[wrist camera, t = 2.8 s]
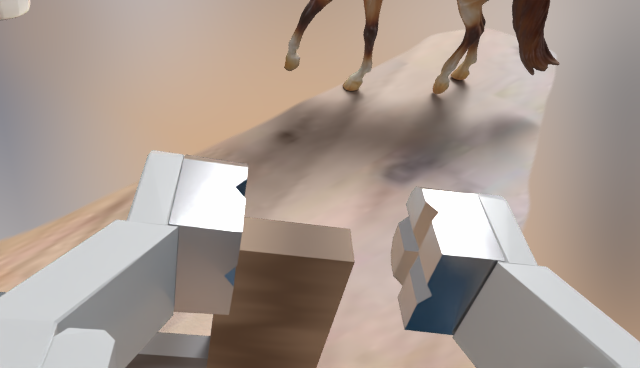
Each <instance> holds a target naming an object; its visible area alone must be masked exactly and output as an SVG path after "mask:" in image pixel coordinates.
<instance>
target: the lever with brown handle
mask: <svg viewBox="0 0 640 368" xmlns="http://www.w3.org/2000/svg"><path fill="white" fill-rule="evenodd" d="M353 265H354V254H353V246H352V239H351V231H350V229H346V228H337V227H328V226H320V225H311V224H302V223H294V222H285V221H276V220H268V219H259V218H251V217H244V219H243V229H242V237H241V244H240V251H239V257H238V264H237V266H236V269H235V279H234V288H233V294H232V300H231V305H230V311H229V315H222V314H213V321H212V328H211V336H200V335H187V334H174V333H161V332H157V333H156V334H155V335H154V337H153V338H152V339H151V340H150V341H149V342H148V343H147V344H146V345H145V346H144V348H143V349H142V350H141V351H140V352H139V353H138V354H137V355H136V356H135V357H134V359H133V360H132V361H131V362H130V363H129V364H128V365H127V366H126V367H125V368H316V367H317V364H318V362H319V359H320V356H321V353H322V350H323V348H324V345H325V342H326V339H327V337H328V334H329V331H330V328H331V326H332V323H333V320H334V317H335V315H336V312H337V309H338V306H339V304H340V301H341V298H342V295H343V293H344V290H345V287H346V284H347V281H348V279H349V276H350V273H351V270H352V268H353Z"/></svg>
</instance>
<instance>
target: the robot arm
mask: <svg viewBox="0 0 640 368" xmlns="http://www.w3.org/2000/svg"><path fill="white" fill-rule="evenodd" d="M247 173H248V164H243V163H237V162H230V161H224V160H217V159H211V158H204V157H198V156H191V155H185V156H184V155H183V154H176V153H168V152H162V151H155V150H152V151H151V153H149V155H148V157H147V160H146V163H145V166H144V169H143V172H142V175H141V178H140V181H139V184H138V187H137V190H136V194H135V197H134V200H133V203H132V206H131V209H130V212H129V215H128V218H127V221H125V220H115V221H114V222H112V223H111V224H109V225H108V226H106V227H105V228H103V229H102V230H100V231H99V232H97V233H96V234H94V235H93V236H91V237H90V238H88V239H87V240H85V241H84V242H82V243H81V244H79V245H78V246H76V247H75V248H73V249H72V250H70V251H68V252H67V253H65V254H64V255H62V256H61V257H59V258H58V259H56V260H55V261H53V262H52V263H50V264H49V265H47V266H46V267H44V268H43V269H41V270H40V271H38V272H37V273H35V274H34V275H32V276H31V277H29V278H28V279H26V280H25V281H23V282H22V283H20V284H19V285H17V286H16V287H14V288H13V289H11V290H10V291H8V292H7V293H5V294H4V295H2V296H1V297H0V368H125V367H126V366H127V365H128V364H129V363H130V362H131V361H132V360H133V359H134V357H135V356H136V355H137V354H138V353H139V352H140V351H141V350H142V349H143V348H144V346H145V345H146V344H147V343H148V342H149V341H150V340H151V339H152V338H153V337H154V335H155V334H156V333H157V332H158V331H159V330H160V329H161V328H162V327H163V326H164V325H165V323H166V322H167V321H168V320H169V319H170V318H171V317H172V316H173V312H187V313H205V314H222V315H229V311H230V305H231V300H232V294H233V288H234V279H235V269H236V266H237V264H238V257H239V251H240V244H241V237H242V229H243V219H244V209H245V198H244V196H245V190H246V183H247ZM406 206H407V210H408V214H409V217H407V218H406V219H404V220H403V221H401V222H400V223H398V226H397V229H396V231H395V234H394V237H393V242H392V249H391V265H392V271H393V276H394V277H395V278H396V279H397V280H398V281H399V282H400V283H401V284H402V288H401V291H400V293H399V295H398V301H399V306H400V310H401V315H402V320H403V325H404V329H405V330H411V331H420V332H429V333H438V334H447V335H454V336H453V337H452V338H453V339H454V340H455V341H456V343H457V344H458V345H459V346H460V348H461V349H462V350H463V351H464V353H465V354H466V355H467V357H468V358H469V359H470V360H471V362H472V363H473V364H474V365H475V367H476V368H640V342H639V341H638V340H636V339H635V338H634V337H633V336H632V335H630V334H629V333H628V332H626V331H625V330H624V329H623V328H622V327H621V326H619V325H618V324H617V323H615V322H614V321H613V320H612V319H611V318H609V317H608V316H607V315H606V314H604V313H603V312H602V311H601V310H599V309H598V308H597V307H596V306H594V305H593V304H592V303H591V302H589V301H588V300H587V299H586V298H584V297H583V296H582V295H581V294H580V293H578V292H577V291H576V290H575V289H573V288H572V287H571V286H570V285H568V284H567V283H566V282H565V281H563V280H562V279H561V278H560V277H558V276H557V275H556V274H555V273H554V272H552V271H551V270H550V269H549V268H547V267H544V266H538V265H537V263H536V261H535V259H534V257H533V255H532V253H531V250H530V248H529V246H528V244H527V242H526V241H525V238H524V236H523V234H522V232H521V230H520V228H519V226H518V224H517V221H516V219H515V217H514V215H513V213H512V211H511V209H510V207H509V205H508V203H507V201H506V200H505V199H504V198H503V197H501V196H498V195H489V194H479V193H472V194H470V193H462V192H454V191H446V190H439V189H431V188H423V187H415V189H414V190H413V191H412V192H411V194H410V196H409V199H408V201H407V204H406Z"/></svg>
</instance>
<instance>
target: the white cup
mask: <svg viewBox="0 0 640 368" xmlns="http://www.w3.org/2000/svg"><path fill="white" fill-rule="evenodd" d="M29 7H30V0H0V20H6V19H11V18H16V17H19V16H21V15H23V14H25V13H26V12H28V11H29Z"/></svg>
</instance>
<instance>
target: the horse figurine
mask: <svg viewBox="0 0 640 368" xmlns="http://www.w3.org/2000/svg"><path fill="white" fill-rule="evenodd" d="M331 1H332V0H310V2H309V3H308V4H307V6H306V7H305V9H304V11H303V12H302V14H301V17H300V20H299V23H298V26H297V28H296V30H295V32H294V34H293V36H292V38H291V40H290V42H289V51H288V53H287V56H286V62H285V67H284V68H285V69H286V70H288V71H292V70H294V69H296V68H297V67H298V66H299V60H300V57H299V55H298V54H297V53H296V50H297V49H298V48H299V44H300V41H301V38H302V35H303V33H304V31H305V29H306V28H307V26H308V24H309V23H310V22H311V21H312V19H313V18H314V17H315V15H316V14H317V13H318V12H319V11H321V10H322V9H323V8H324V7H325V6H326V5H327V4H328V3H330V2H331ZM487 1H489V0H457V4H458V9H459V13H460V16H461V18H462V20H463V22H464V25H465V27H466V32H465V36H464V39H463V42H462V43H461V45H460V46H459V47H458V49H457V50H456V51H455V52H454V53H453V55H452V56H451V57H450V58H449V59H448V60H447V61H446V63H445V64H444V66H443V68H442V71H441V74H440V75H439V76H438V77H437V78H436V80H435V83H434V86H433V93H434V94H441V93H443V92H444V91H445V90H446V89H447V88H448V87H449V82H450V81H449V79H448V76H449V74H450V73H451V72H452V71H453V70H454V69H455V68H456V66H457V64H458V63H459V61H460V59H461V58H462V56H463V55H464V54H465V52H466V51H467V50H468V52H467V55H466V58H465V60H464V62H463V63H462V64H461V65H460V66H459V67H458V68H457V69H456V70H455V71H454V72H453V73H452V74H451V77H453V78H454V79H457V80H464V79H466V78H467V76H468V75H469V70H468V69H469V66H470V65H471V64H473V63H476V60H477V47H478V43H479V39H480V36H481V34H482V33H483V32H484V26H485V19H484V17H483V14H482V5H483V4H484V3H485V2H487ZM381 4H382V0H364V7H365V15H366V25H365V29H364V41H365V52H364V58H363V63H362V66H361V68H360V69H359V70H358V71H357V72H355V73H354V74H352V75H351V76H350V77H349V78H348V80H346V82H345V83H344V84H343V87H344V89H346V90H349V91H354V90H358V89H359V87H360V86H361V84H362V83H363V82H362V78H363V76H364V75H365V74H366V73H368V72H370V71H371V68H372V51H373V45H374V41H375V39H376V36H377V31H378V19H379V13H380V9H381ZM549 5H550V0H513V5H512V15H513V28H514V30H515V32H516V36H517V40H518V43H519V53H520V58H521V61H522V63H523V65H524V66H525V68H526V69H527V70H528V72H529V73H530V74H531V75H534V69H533V68H535V69H536V70H540V71H545V70H546V69H547V68H548V67H547V66H548V64H552V65H559V62H558V61H557V60H556V59H555V58H554V57H553V56H552V54H551V53H550V51H549V49H548V47H547V44H546V42H545V39H544V26H545V21H546V18H547V14H548V9H549Z"/></svg>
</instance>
